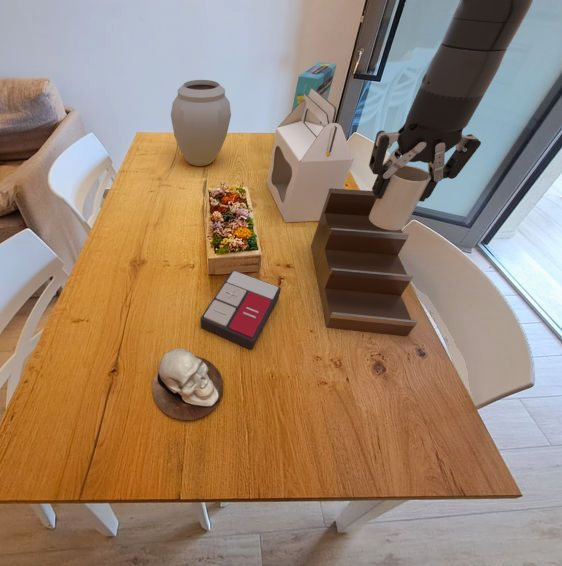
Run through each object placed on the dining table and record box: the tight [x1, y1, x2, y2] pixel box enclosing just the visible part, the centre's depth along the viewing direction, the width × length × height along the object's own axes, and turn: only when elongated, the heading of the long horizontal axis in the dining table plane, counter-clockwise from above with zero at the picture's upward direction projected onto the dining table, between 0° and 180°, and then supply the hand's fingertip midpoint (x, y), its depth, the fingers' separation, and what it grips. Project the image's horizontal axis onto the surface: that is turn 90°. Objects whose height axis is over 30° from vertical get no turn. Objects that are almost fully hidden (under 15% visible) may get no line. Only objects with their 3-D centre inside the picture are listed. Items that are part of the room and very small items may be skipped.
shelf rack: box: [310, 188, 418, 337], centre depth 68 cm, size 26×15×16 cm, turn 171°
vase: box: [170, 79, 232, 167], centre depth 110 cm, size 20×20×24 cm
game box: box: [291, 61, 337, 125], centre depth 111 cm, size 20×6×27 cm, turn 148°
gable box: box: [266, 89, 355, 223], centre depth 89 cm, size 22×13×28 cm, turn 4°
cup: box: [369, 164, 431, 230], centre depth 56 cm, size 6×6×9 cm
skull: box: [151, 347, 224, 421], centre depth 55 cm, size 12×10×10 cm
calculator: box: [200, 270, 282, 351], centre depth 67 cm, size 11×4×15 cm
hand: (398, 197), depth 56 cm, fingers closed on cup, 6 cm apart
